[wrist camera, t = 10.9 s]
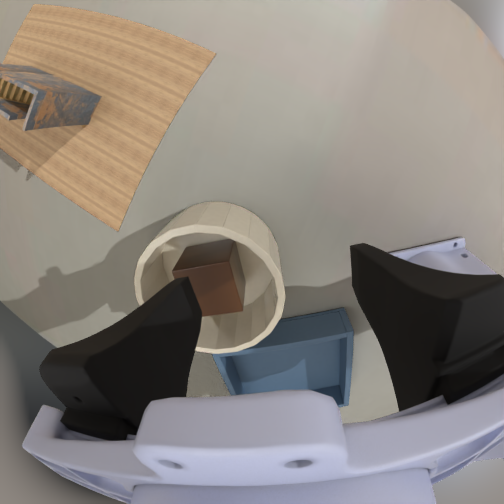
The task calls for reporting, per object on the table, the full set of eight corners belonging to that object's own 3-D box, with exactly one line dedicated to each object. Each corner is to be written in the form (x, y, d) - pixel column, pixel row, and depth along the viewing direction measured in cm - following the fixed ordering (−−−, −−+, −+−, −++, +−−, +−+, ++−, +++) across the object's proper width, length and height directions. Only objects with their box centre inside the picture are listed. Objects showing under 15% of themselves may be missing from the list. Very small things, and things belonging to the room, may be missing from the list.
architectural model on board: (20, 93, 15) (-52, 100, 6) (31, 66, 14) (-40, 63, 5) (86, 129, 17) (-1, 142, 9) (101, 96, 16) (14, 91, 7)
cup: (266, 189, 20) (269, 209, 15) (287, 301, 24) (293, 344, 19) (144, 216, 21) (112, 243, 16) (181, 316, 25) (166, 357, 20)
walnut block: (234, 237, 21) (229, 261, 17) (246, 282, 22) (243, 311, 19) (185, 246, 21) (171, 271, 17) (200, 289, 23) (189, 318, 19)
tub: (344, 307, 24) (353, 330, 21) (343, 383, 29) (348, 405, 26) (216, 328, 25) (211, 353, 22) (244, 398, 30) (243, 420, 27)
